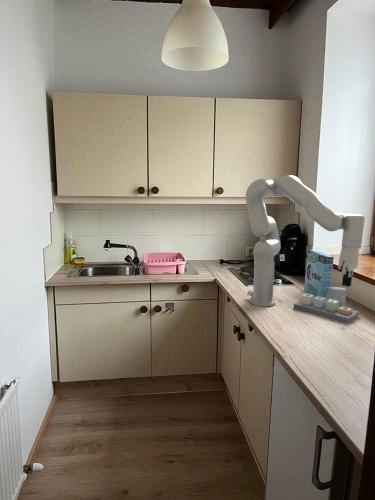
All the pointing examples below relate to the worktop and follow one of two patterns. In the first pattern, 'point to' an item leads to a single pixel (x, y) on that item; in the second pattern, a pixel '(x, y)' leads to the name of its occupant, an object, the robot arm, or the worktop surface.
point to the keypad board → (326, 312)
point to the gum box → (318, 273)
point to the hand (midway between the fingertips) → (346, 285)
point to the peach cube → (345, 310)
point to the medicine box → (337, 295)
